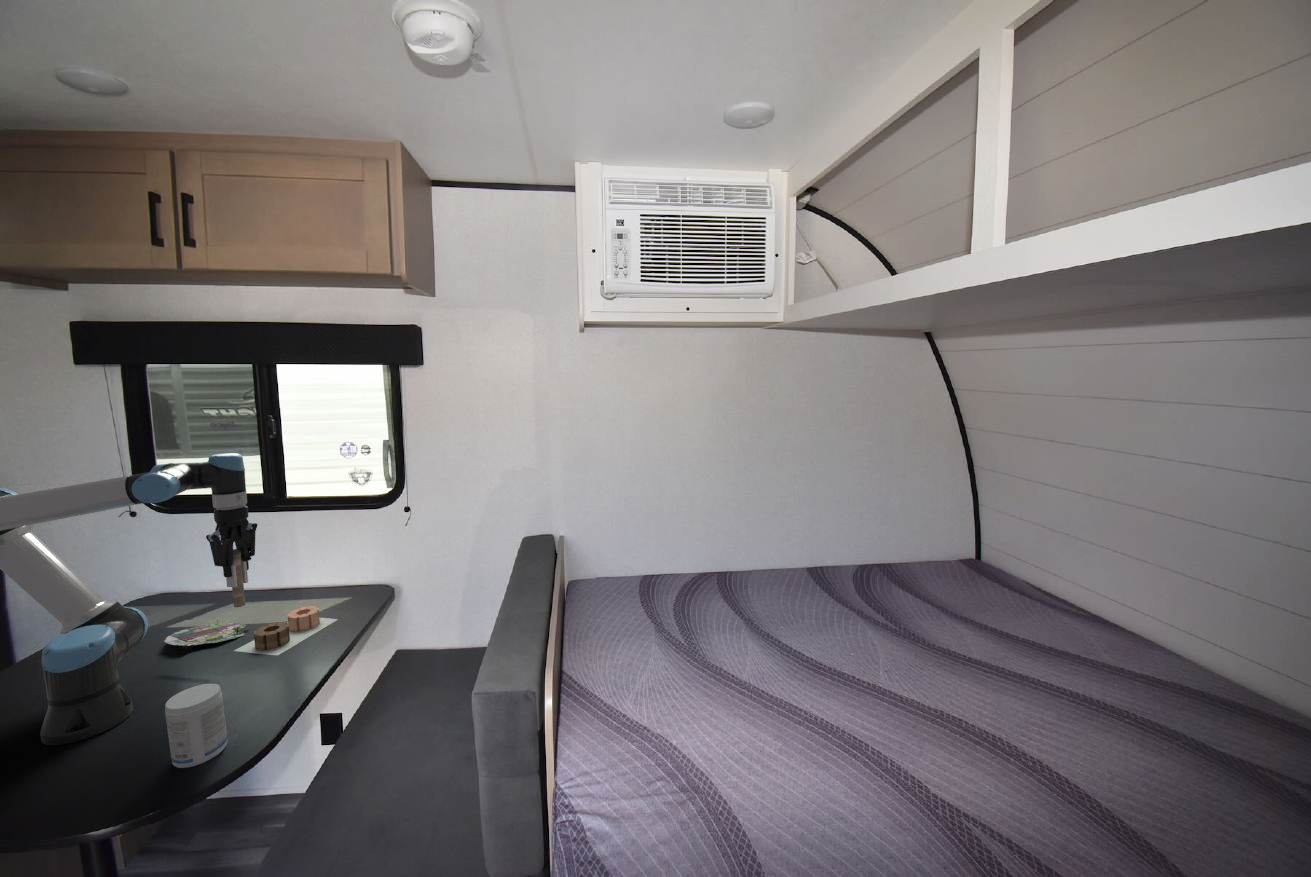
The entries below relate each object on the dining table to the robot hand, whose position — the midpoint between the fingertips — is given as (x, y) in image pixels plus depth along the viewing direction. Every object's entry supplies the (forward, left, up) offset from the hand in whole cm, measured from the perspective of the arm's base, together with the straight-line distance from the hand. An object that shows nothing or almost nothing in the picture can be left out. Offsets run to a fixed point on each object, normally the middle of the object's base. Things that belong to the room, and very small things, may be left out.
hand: (237, 584), depth 144 cm
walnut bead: (+12, +3, -25) cm, 28 cm away
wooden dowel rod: (0, 0, -7) cm, 7 cm away
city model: (+14, +28, -27) cm, 41 cm away
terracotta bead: (+24, +3, -25) cm, 35 cm away
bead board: (+18, +3, -26) cm, 32 cm away
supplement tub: (-31, -23, -27) cm, 47 cm away
